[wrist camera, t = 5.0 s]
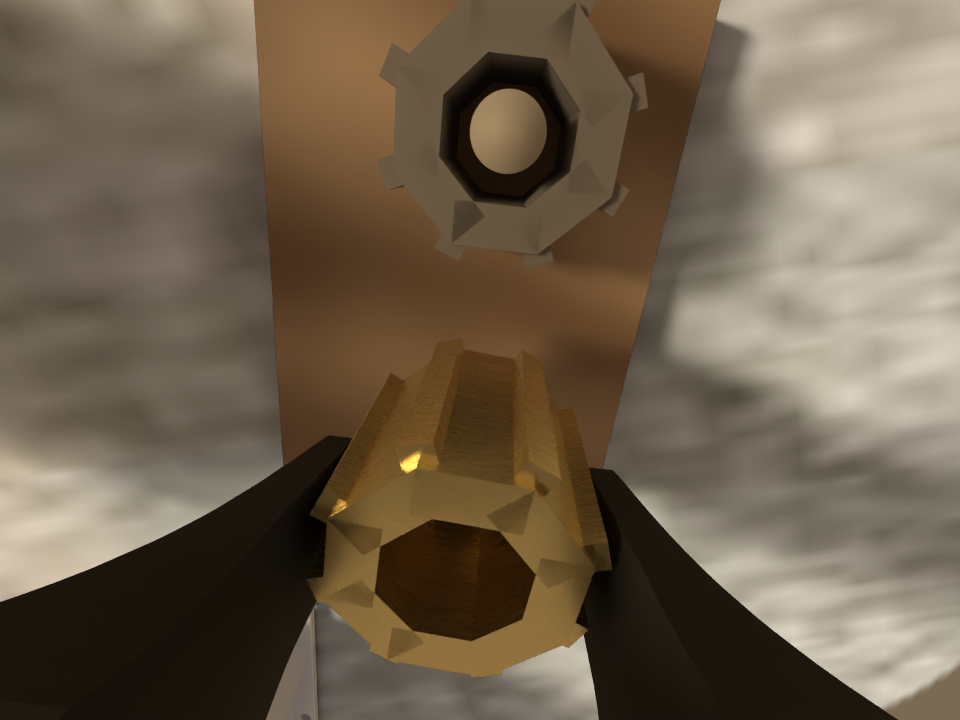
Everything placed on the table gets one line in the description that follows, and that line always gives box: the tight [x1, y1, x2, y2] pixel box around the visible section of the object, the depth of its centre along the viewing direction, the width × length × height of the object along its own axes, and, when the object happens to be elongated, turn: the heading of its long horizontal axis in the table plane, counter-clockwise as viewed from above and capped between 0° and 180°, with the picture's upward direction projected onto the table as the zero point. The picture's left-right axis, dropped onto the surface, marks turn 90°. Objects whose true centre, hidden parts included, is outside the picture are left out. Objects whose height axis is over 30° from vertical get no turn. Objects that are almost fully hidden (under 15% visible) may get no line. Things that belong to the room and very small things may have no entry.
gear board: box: [254, 0, 721, 469], centre depth 13 cm, size 16×11×5 cm
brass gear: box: [306, 338, 612, 677], centre depth 10 cm, size 5×5×5 cm
